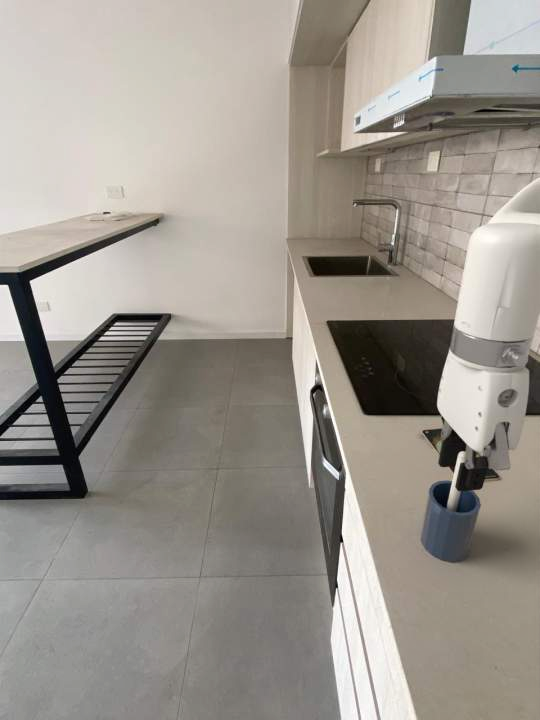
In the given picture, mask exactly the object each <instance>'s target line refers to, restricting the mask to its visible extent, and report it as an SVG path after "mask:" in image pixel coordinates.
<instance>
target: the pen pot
mask: <svg viewBox="0 0 540 720" xmlns="http://www.w3.org/2000/svg"><path fill="white" fill-rule="evenodd" d="M451 485H452V480H447V479H446V480H438V481H435V482H434V483H432V484H431V485H430V487H429V489H428V492H427V498H426V503H425V507H424V514H423V520H422V524H421V530H420V542H421V545H422V546H423V548H424V549H425V551H426V552H428V553H429V554H430V555H431V556H432V557H434V558H435V559H437V560H440V561H443V562H445V563H458V562H461V561H464V560H465V559H466V558H467V556H468V554H469V552H470V548H471V545H472V541H473V537H474V533H475V529H476V525H477V522H478V519H479V515H480V511H481V507H482V504H481V500H480V499H481V498H480V497H479V496H478V494H477V493H476V492H475V490H470V491H461V492H460V497H459V501H458V505H457V510H456V512H454V511H451V510H448V509H446V508H447V503H448V499H449V494H450V490H451Z"/></svg>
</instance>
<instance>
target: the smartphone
mask: <svg viewBox="0 0 540 720" xmlns="http://www.w3.org/2000/svg"><path fill="white" fill-rule="evenodd" d="M442 428H443V427H442ZM442 428H432V429H431V428H430V429H423V430H422V431H421V434H422V435H423V437H424V438H425V439H426V441H427V442H428V444H429V445H430V446H431V447H432V449H433V450H434V451H435V453H437V455H438V457H439V456H440V450H441V445H442V440H445V439H443V438H442V435H441V431H442ZM480 456H481V454H480V453H478V452H476V457H480ZM455 467H456V466H453V467H447V468H448V470H449V471H450V473H451V474H452V475H453V476H454V471H455ZM499 478H500V475H499V474H498V473H497V472H496V470H493V469H489V468H488V469H487V472H486V476H485V480H484V483H486V482H494V481H495V482H496V481H498V480H499Z"/></svg>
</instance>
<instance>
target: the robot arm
mask: <svg viewBox="0 0 540 720" xmlns="http://www.w3.org/2000/svg"><path fill="white" fill-rule="evenodd" d="M461 277H462V278H461V281H460V287H459V294H458V298H457V305H456V310H455V316H454V322H453V328H452V333H451V337H450V343H449V349H448V353H447V356H446V359H445V364H444V366H443V369H442V374H441V377H440V381H439V387H438V392H437V401H436V407H437V410H438V412H439V414H440V415H441V417H440V419H441V421H442V431H441V435H442V438H443V439H445V440H442V445H441V450H440V456H439V455H438V461H437V464H438V466H439V467H440V468H448V467H453V466H456V462H457V457H458V454H459V452H461V451H464V452H466V453H465V462H463V463H460V467H459V471H458V476H457V480H456V485H455V488H456V489H457V490H458V491H470V490H473V491H480V490H482V489H483V487H484V483H485V482H484V480H485V476H486V472H487V469H488V468H489V469H493V470H494V471H508V470H510V469H511V461H510V452H509V451H515V450H516V449H517V448H518V445H519V443H520V440H521V436H522V432H523V427H524V422H525V418H526V413H527V408H528V407H527V406H528V402H529V401H528V399H529V393H530V391H529V390H530V369H528V368H527V367H526V366H527V363H529V354H530V351H531V348H532V344H533V341H534V337H535V333H536V329H537V326H538V322H539V318H540V176H539V177H538V178H536V179H534V180H533V181H531V182H530V183H528V184H527V185H526V186H525V187H523V188H522V189H521V190H519V192H517V193H516V194H515V195H513V197H511V199H509V201H507V202H506V203H505V204H504V205H502V207H501V208H500V209H499V210H498V211H497V212H496V213H495V214H494V215H493V216H492V217H491V218H490V219H489V221H488V222H487V224H483V225H480V226H479V227H477V228H476V229H474V231H473V232H472V234H471V235H470V237H469V239H468V244H467V249H466V253H465V259H464V265H463V271H462V276H461ZM476 452H478V453H479V454H482V455H480V457H476Z"/></svg>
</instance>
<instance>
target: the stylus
mask: <svg viewBox="0 0 540 720" xmlns="http://www.w3.org/2000/svg"><path fill="white" fill-rule="evenodd" d="M465 453H466V452H464V451H461V452H459V454H458V457H457V462H456V467H455V471H454V475H453V476H452V480H451V481H452V485H451V490H450V494H449V499H448V503H447V508H446V509H448V510H451V511H454V512H456V510H457V505H458V501H459V497H460V492H461V491H458V490H457V489H456V488H455V485H456V480H457V476H458V471H459V467H460V463H463V462H465Z"/></svg>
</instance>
